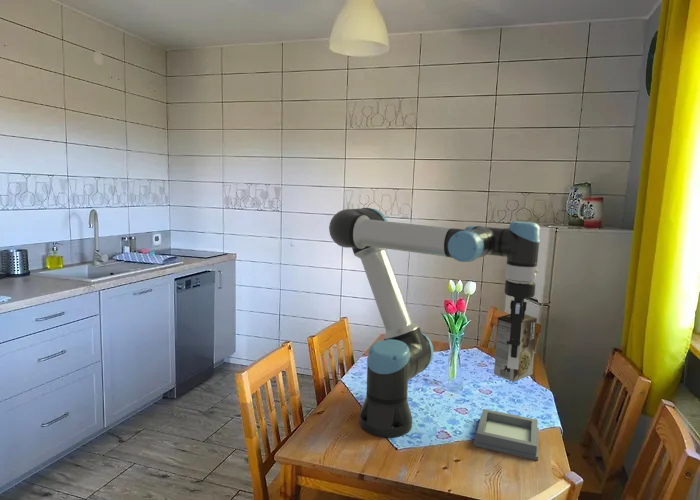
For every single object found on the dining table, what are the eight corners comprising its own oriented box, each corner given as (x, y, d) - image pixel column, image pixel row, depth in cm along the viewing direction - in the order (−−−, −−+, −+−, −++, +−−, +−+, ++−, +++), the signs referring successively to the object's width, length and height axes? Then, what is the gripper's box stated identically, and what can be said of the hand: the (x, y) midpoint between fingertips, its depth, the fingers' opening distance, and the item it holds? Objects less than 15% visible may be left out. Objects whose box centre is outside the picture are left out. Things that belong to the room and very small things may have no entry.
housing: (473, 445, 125) (474, 433, 125) (480, 418, 140) (481, 407, 139) (537, 460, 119) (539, 447, 119) (538, 430, 134) (539, 419, 134)
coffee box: (512, 367, 132) (517, 311, 130) (533, 375, 127) (538, 317, 125) (492, 374, 127) (496, 316, 125) (513, 382, 122) (518, 322, 119)
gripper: (535, 291, 111) (527, 379, 114) (536, 274, 133) (529, 349, 136) (502, 287, 114) (495, 374, 117) (508, 272, 135) (502, 345, 138)
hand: (513, 361), depth 126 cm, fingers closed on coffee box, 10 cm apart
